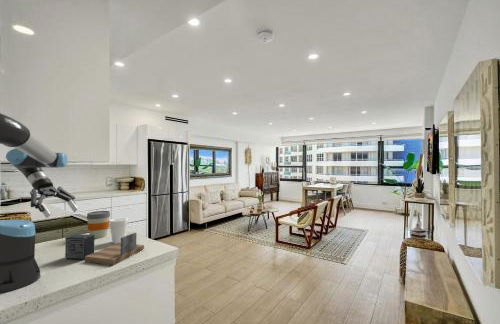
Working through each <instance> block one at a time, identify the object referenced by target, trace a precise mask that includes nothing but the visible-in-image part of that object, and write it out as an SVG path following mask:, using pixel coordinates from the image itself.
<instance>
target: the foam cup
mask: <svg viewBox="0 0 500 324" xmlns="http://www.w3.org/2000/svg"><path fill="white" fill-rule="evenodd" d="M109 220H110V222H109V227H110V234H111V242H112V243H113V244H114V245H115V244H117V243H121V238H122V237H124V236H127V229H128V222H129V218H128V217H118V218H117V217H116V218H112V219H109Z"/></svg>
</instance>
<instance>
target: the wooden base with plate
mask: <svg viewBox="0 0 500 324" xmlns="http://www.w3.org/2000/svg"><path fill="white" fill-rule="evenodd" d="M143 249H144V250H145V244H137V232H133V233H130V234H126V236H124V237H122V238H121V243H117V244H115V243H114V244H112V245H110V246H107V247H105V248H103V249H100V250H98V251H94V253H93V254H90V255H88V256H85V260H84V262H85V263H89V264H99V265H101V264H102V265H107V266H115V265H118V264H119V263H121V262H124V261H125V260H128V259H129V258H131V257H133V256H134V254H135V255H137V254H139V253H140V251H141V252H142V250H143ZM144 250H143V251H144ZM138 252H139V253H138ZM136 253H137V254H136ZM132 255H133V256H132ZM130 256H131V257H130Z"/></svg>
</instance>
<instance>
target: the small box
mask: <svg viewBox="0 0 500 324" xmlns="http://www.w3.org/2000/svg"><path fill="white" fill-rule="evenodd" d="M94 236H95V235H90V234H82V233H81V234H80V233H78V234H77V233H76V234H73V235H70V236H66V237H65V248H64V249H65V253H64V255H65V256H64V259H65V260H67V261H68V260H74V261H76V260H77V261H85V256H88V255H90V254H93V253H95V239H94Z"/></svg>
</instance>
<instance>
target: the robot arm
mask: <svg viewBox="0 0 500 324" xmlns="http://www.w3.org/2000/svg"><path fill="white" fill-rule="evenodd" d="M0 145H3V146H4V147H5V146H6V147H8V148H12V149H10V150H9V151H7V152H6V154H5V159H6V160H7V161H8V162H9V164H10V165H11V166H13V167H15V168H16V169H17V170H18V171H20V172H21V173H22V175H23V176H24V177H25V179H26V180H27V181H28V183H29V184H30V185H31V187H32V189H31V191H30V192H29V194H30V207H31V208H34V209H36V210H39V212H40V213H42V214H43V215H44V217H45V219H46V218H47V219H48V218H49V217H50V216H51V215H52V213H51V212H50V210H49V209H48V207H47V206H46V204H44V203H43V201H44V199H45V198H49V197H50V198H51V197H52V198H53V197H54V198H58V199H60V200H62V201H65V202H67V205H68V207H69V208H70V209H71V210H72V212H73V213H75V212H77V211H78V210H79V207H78V206H77V205H76V203H77V202H75V199H76V196H75V195H74V194H71V193H70V192H68V191H67V190H65V189H64V188H63V187H62V186H59V185H58V187H56V186H54V183H53V182H52V180H51V179H50V178H49V176H48V175H47V174H46V173H45V171H44V170H43V169H42V168H45V169H46V168H48V169H49V168H53V169H54V168H55V169H56V168H57V169H58V168H65V167H67V164H68V162H69V160H68V155H67V154H66V153H64V152H55V151H54V150H53V149H51V148H50V147H49V146H48V145H46V144H45V143H44V142H43V141H41V140H39V139H38V137H36V136H34V135H33V134H31V130H30V129H29V128H28V127H26V126H25V125H24V124H23V123H21V122H20V121H18V120H16V119H14V118H12V117H10V116H8V115H6V114H3V113H1V112H0ZM38 195H40V196H39V197H37V196H38ZM37 198H39V199H38V201H37ZM36 232H37V231H36V225H35V222H33V221H30V220H27V219H5V220H4V219H3V220H0V293H4V292H3V291H6V292H10V291H14V290H17V289H21V288H23V287H26V286H29V285H31V284H33V283H35V282H37V281H39V279H40V278H41V269H40V267H39V265H38V263H37V260H36V259H35V257H36V255H35V253H36V252H35V251H36V234H37V233H36Z"/></svg>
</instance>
